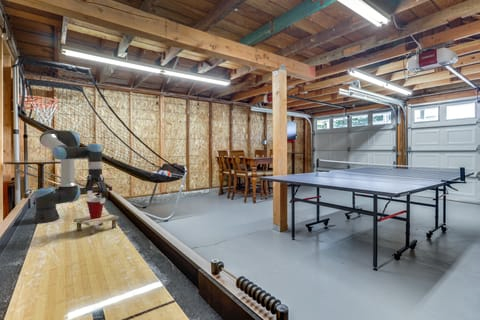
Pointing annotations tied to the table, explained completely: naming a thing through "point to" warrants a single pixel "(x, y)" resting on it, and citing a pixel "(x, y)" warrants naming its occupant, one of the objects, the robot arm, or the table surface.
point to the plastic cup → (94, 207)
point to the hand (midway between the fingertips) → (96, 202)
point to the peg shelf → (95, 221)
